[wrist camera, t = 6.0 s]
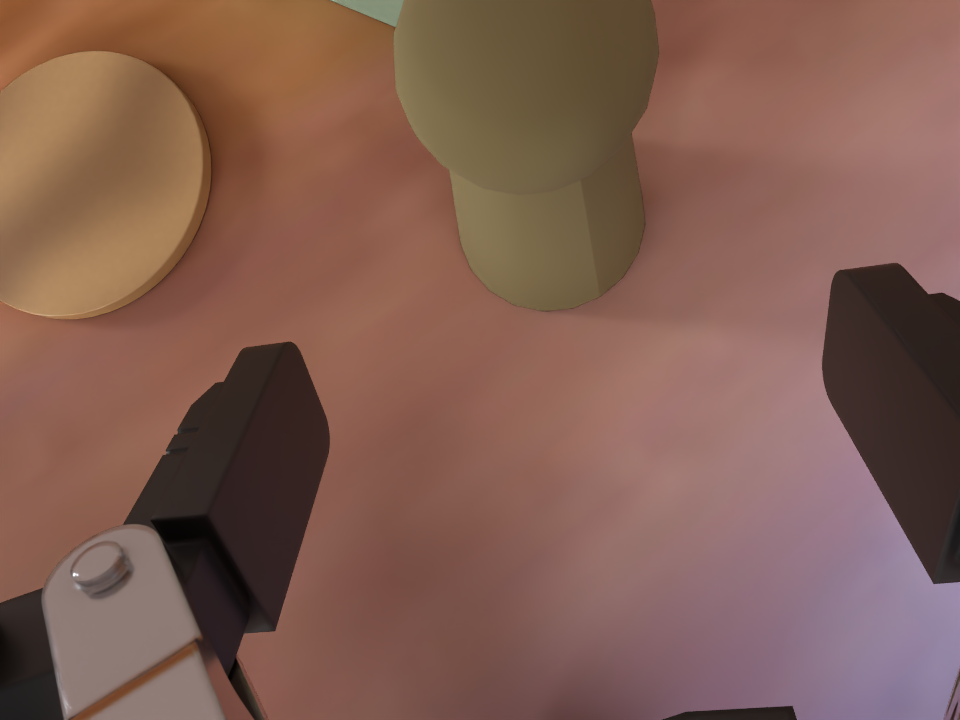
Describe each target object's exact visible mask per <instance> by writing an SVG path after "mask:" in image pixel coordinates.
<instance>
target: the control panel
mask: <svg viewBox="0 0 960 720" xmlns="http://www.w3.org/2000/svg"><path fill="white" fill-rule="evenodd" d="M331 1H333V2H336V3H338V4H341V5H343V6H345V7H348V8H350V9H353V10H355V11H358V12H360V13H362V14H365V15H367V16H370V17H372V18H374V19H377V20H379V21H382V22H384V23H387V24H389V25H391V26H394V27H396V25H397V22H398V18H399V15H400V11H401V8H402V4H403V1H404V0H331Z"/></svg>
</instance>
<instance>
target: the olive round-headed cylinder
mask: <svg viewBox="0 0 960 720" xmlns="http://www.w3.org/2000/svg"><path fill="white" fill-rule="evenodd" d="M393 42H394V65H395V83H396V91H397V94H398V96H399V99H400V101H401V104H402V106H403V109H404V111H405V114H406V116H407V119H408V121H409V124H410V126H411V127H412V129H413V131H414V133H415V135H416V136H417V138H418V139H419V140H420V141H421V143H422V144H423V145H424V146H425V147H426V148H427V149H428V150H429V151H430V153H431V154H432V155H433V156H434V157H435V158H436V159H437V160H438V162H439V163H440V164H441V165H442V166H444V167H445V168H447V169H449V173H450V179H451V185H452V192H453V198H454V204H455V211H456V217H457V223H458V230H459V236H460V242H461V246H462V248H463V251H464V253H465V256H466V258H467V261H468V263H469V266H470V268H471V270H472V271H473V272H474V273H475V275H476V276H477V277H478V278H479V279H480V280H481V282H482V283H483V284H484V285H485V286H486V287H487V288H488V290H489V291H491V292H493V293H494V294H496V295H498V296H500V297H501V298H503V299H505V300H506V301H508V302H510V303H511V304H513V305H516V306H521V307H526V308H530V309H535V310H539V311H550V310H560V309H571V308H574V307H577V306H579V305H582V304H584V303H586V302H589V301H591V300H593V299H596V298H598V297H600V296H602V295H603V294H604V293H605V292H606V291H607V290H609V289H610V288H611V287H612V286H613V285H615V284H616V283H617V282H618V281H619V280H620V279H622V278H623V277H624V275H625V273H626V272H627V270H628V268H629V267H630V265H631V264H632V262H633V260H634V259H635V257H636V256H637V254H638V252H639V248H640V244H641V240H642V235H643V231H644V227H645V218H644V208H643V198H642V192H641V186H640V180H639V174H638V168H637V162H636V156H635V151H634V145H633V139H632V131H633V129H634V128H635V126H636V125H637V123H638V121H639V120H640V118H641V117H642V115H643V113H644V112H645V110H646V109H647V106H648V101H649V97H650V93H651V89H652V85H653V81H654V76H655V72H656V68H657V62H658V57H659V46H658V37H657V28H656V19H655V12H654V9H653V5H652V2H651V0H404V1H403V4H402V8H401V11H400V15H399V18H398V22H397V25H396V29H395V32H394V36H393Z"/></svg>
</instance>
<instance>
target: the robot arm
mask: <svg viewBox="0 0 960 720" xmlns="http://www.w3.org/2000/svg"><path fill="white" fill-rule="evenodd" d="M822 371H823V379H824V385H825V389H826V392H827V395H828V398H829V400H830V402H831V404H832V406H833V407H834V409H835V411H836V413H837V414H838V416H839V418H840V420H841V422H842V423H843V425H844V427H845V429H846V430H847V432H848V434H849V436H850V437H851V439H852V441H853V443H854V444H855V446H856V448H857V450H858V451H859V453H860V455H861V457H862V459H863V460H864V462H865V464H866V466H867V467H868V469H869V471H870V473H871V474H872V476H873V478H874V480H875V481H876V483H877V485H878V487H879V488H880V490H881V492H882V494H883V495H884V497H885V499H886V501H887V503H888V504H889V506H890V508H891V510H892V511H893V513H894V515H895V517H896V518H897V520H898V522H899V524H900V525H901V527H902V529H903V531H904V532H905V534H906V536H907V538H908V539H909V541H910V543H911V545H912V547H913V548H914V550H915V552H916V554H917V555H918V557H919V559H920V561H921V562H922V564H923V566H924V568H925V569H926V571H927V573H928V575H929V576H930V578H931V580H932V582H933V584H940V583H953V582H960V301H958V300H956V299H954V298H952V297H950V296H948V295H946V294H944V293H936V294H928V293H927V292H926V291H925V290H924V289H923V288H922V287H921V286H920V285H919V284H918V283H917V282H916V280H915V279H914V278H913V277H912V276H911V275H910V274H909V273H908V272H907V271H906V270H905V269H904V267H902V266H901V265H900V264H898V263H891V264H883V265H875V266H868V267H860V268H853V269H845V270H839V271H838V272H836V274H835V275H834V278H833V281H832V285H831V292H830V300H829V308H828V317H827V325H826V333H825V342H824V350H823V359H822ZM329 445H330V436H329V427H328V422H327V418H326V415H325V413H324V410H323V407H322V405H321V402H320V400H319V397H318V395H317V392H316V390H315V387H314V385H313V382H312V380H311V377H310V375H309V372H308V370H307V367H306V365H305V362H304V360H303V357H302V355H301V352H300V350H299V349H298V347H297V346H296V345H295V344H294V343H292V342H283V343H276V344H268V345H261V346H253V347H246V348H243V349H242V350H241V351H240V353H239V355H238V356H237V358H236V360H235V362H234V364H233V366H232V368H231V369H230V371H229V373H228V375H227V377H226V379H225V381H224V382H218V383H215V384H214V385H213V386H212V387H211V388H210V389H208V390H207V391H206V392H205V393H204V394H203V395H202V396H201V397H200V398H199V399H198V400H197V401H196V402H194V403H193V404H192V405H191V407H190V409H189V410H188V412H187V414H186V416H185V417H184V419H183V421H182V423H181V424H180V426H179V428H178V434H176V435H174V437H173V438H172V440H171V442H170V444H169V445H168V447H167V449H166V455H163V456H162V457H161V459H160V461H159V463H158V464H157V466H156V468H155V470H154V471H153V473H152V475H151V477H150V478H149V480H148V482H147V484H146V485H145V487H144V489H143V491H142V492H141V494H140V496H139V498H138V499H137V501H136V503H135V505H134V506H133V508H132V510H131V512H130V513H129V515H128V517H127V519H126V520H125V522H124V524H123V525H121V526H117V527H113V528H110V529H108V530H105V531H102V532H100V533H98V534H96V535H94V536H92V537H90V538H89V539H87V540H85V541H84V542H82V543H81V544H79V545H78V546H77V547H75V548H74V549H73V550H72V551H70V552H69V553H68V554H67V555H66V556H65V557H64V558H63V559H62V560H61V561H60V562H59V563H58V564H57V565H56V567H55V568H54V569H53V571H52V572H51V574H50V575H49V577H48V579H47V580H46V583H45V585H44V588H41V589H39V590H36V591H33V592H30V593H27V594H24V595H22V596H19V597H16V598H13V599H10V600H7V601H5V602H2V603H0V720H269V719H268V717H267V715H266V712H265V710H264V708H263V706H262V704H261V702H260V699H259V697H258V695H257V693H256V691H255V689H254V687H253V684H252V682H251V680H250V678H249V676H248V674H247V671H246V669H245V667H244V665H243V663H242V662H241V660H240V658H239V657H238V655H237V652H238V649H239V646H240V643H241V640H242V637H243V634H244V633H256V632H269V631H275V630H276V626H277V623H278V620H279V616H280V613H281V610H282V606H283V603H284V600H285V597H286V593H287V590H288V587H289V583H290V580H291V577H292V573H293V570H294V567H295V563H296V560H297V557H298V553H299V550H300V547H301V544H302V540H303V537H304V534H305V530H306V527H307V524H308V520H309V517H310V514H311V510H312V507H313V504H314V500H315V497H316V494H317V490H318V487H319V484H320V481H321V477H322V474H323V471H324V467H325V464H326V461H327V457H328V453H329ZM663 720H797V718H796V715H795V712H794V709H793V706H784V707H766V708H747V709H729V710H711V711H693V712H684V713H681V714H678V715H675V716H672V717H669V718H666V719H663ZM943 720H960V667H959V670H958V674H957V677H956V680H955V683H954V686H953V689H952V693H951V696H950V699H949V702H948V705H947V708H946V712H945V715H944V718H943Z"/></svg>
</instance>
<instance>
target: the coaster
mask: <svg viewBox="0 0 960 720" xmlns="http://www.w3.org/2000/svg"><path fill="white" fill-rule="evenodd" d="M210 184H211V154H210V148H209V142H208V137H207V134H206V131H205V128H204V125H203V122H202V120H201V118H200V116H199V114H198V112H197V110H196V108H195V107H194V105H193V104H192V102H191V101H190V99H189V98H188V97H187V95H186V94H185V93H184V92H183V91H182V90H181V89H180V88H179V87H178V86H177V85H176V84H175V83H174V82H173V81H172V80H171V79H170V78H169V77H167V76H166V75H165V74H164V73H162V72H161V71H160V70H158V69H157V68H155V67H154V66H152V65H150V64H148V63H147V62H145V61H143V60H140V59H137V58H135V57H132V56H129V55H125V54H121V53H116V52H108V51H85V52H77V53H72V54H67V55H63V56H60V57H57V58H54V59H51V60H48V61H46V62H44V63H42V64H40V65H38V66H36V67H34V68H32V69H30V70H29V71H27V72H25V73H24V74H22V75H20V76H19V77H18V78H16V79H15V80H14V81H13V82H11V83H10V84H9V85H7V86H6V87H5V88H4V89H3V90H2V91H1V92H0V301H2V302H3V303H5V304H7V305H9V306H11V307H13V308H16V309H18V310H21V311H24V312H28V313H31V314H34V315H38V316H41V317H47V318H54V319H81V318H88V317H94V316H97V315H101V314H104V313H108V312H111V311H113V310H116V309H118V308H120V307H123V306H125V305H127V304H129V303H130V302H132V301H134V300H136V299H137V298H139V297H141V296H142V295H144V294H145V293H146V292H148V291H149V290H150V289H152V288H153V287H154V286H156V285H157V284H158V283H159V282H160V281H161V280H162V279H163V278H164V277H165V276H166V275H167V274H168V273H169V272H170V271H171V270H172V269H173V267H174V266H175V265H176V264H177V263H178V261H179V260H180V259H181V258H182V256H183V255H184V253H185V252H186V250H187V249H188V247H189V245H190V244H191V242H192V240H193V238H194V236H195V234H196V232H197V230H198V228H199V226H200V224H201V221H202V218H203V215H204V212H205V209H206V206H207V201H208V197H209V192H210Z"/></svg>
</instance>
